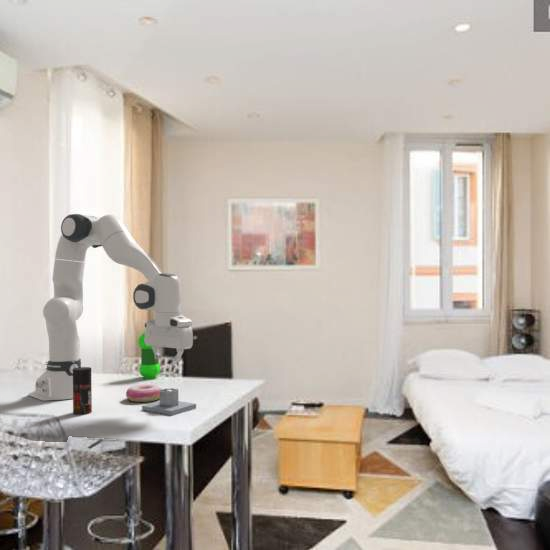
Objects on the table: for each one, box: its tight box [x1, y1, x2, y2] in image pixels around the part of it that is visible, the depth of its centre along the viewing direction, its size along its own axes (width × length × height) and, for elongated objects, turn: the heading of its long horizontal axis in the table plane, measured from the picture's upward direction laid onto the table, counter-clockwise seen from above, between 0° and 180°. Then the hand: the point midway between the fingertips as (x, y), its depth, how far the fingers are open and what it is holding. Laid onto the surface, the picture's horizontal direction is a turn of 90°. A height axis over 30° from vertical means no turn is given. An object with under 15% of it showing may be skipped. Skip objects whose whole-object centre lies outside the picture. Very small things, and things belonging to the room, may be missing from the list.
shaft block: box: [141, 390, 197, 416], centre depth 190 cm, size 14×12×6 cm
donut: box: [125, 384, 163, 403], centre depth 206 cm, size 14×13×5 cm
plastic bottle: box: [137, 322, 161, 380], centre depth 252 cm, size 10×10×25 cm
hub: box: [159, 387, 179, 407], centre depth 190 cm, size 6×6×5 cm
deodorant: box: [72, 366, 93, 416], centre depth 186 cm, size 6×6×15 cm
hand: (167, 360), depth 190 cm, fingers open, 8 cm apart
